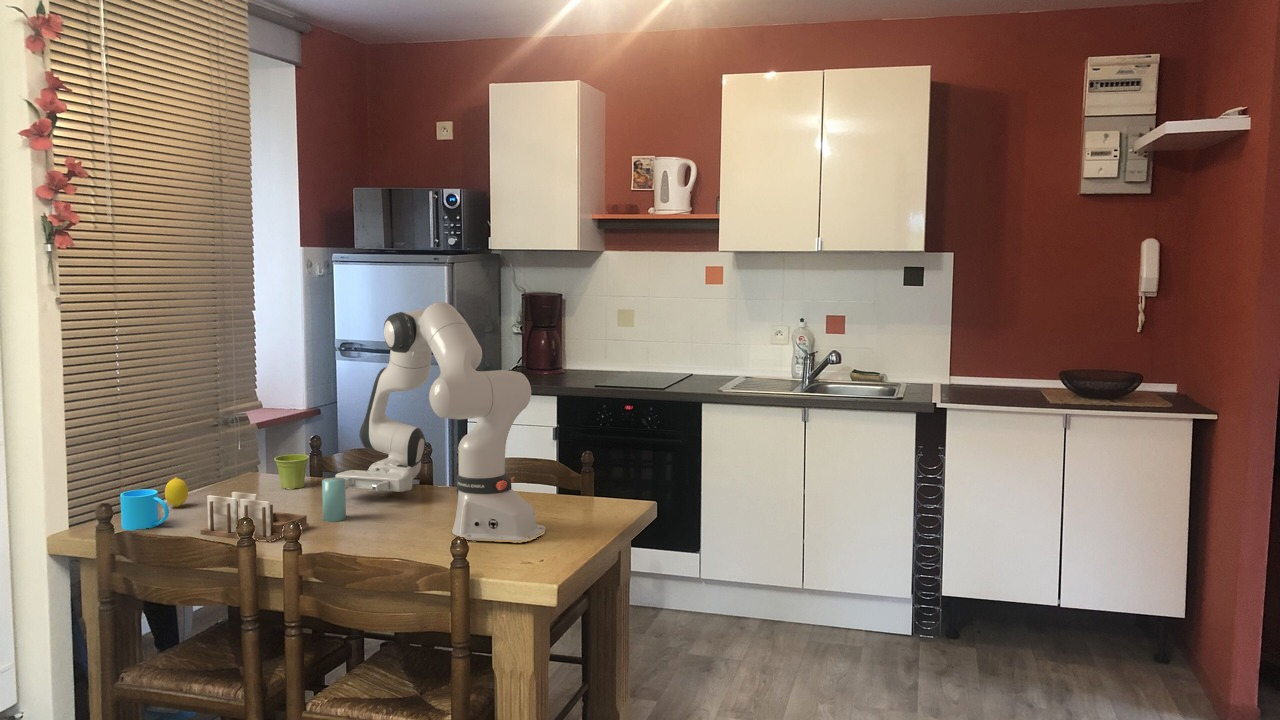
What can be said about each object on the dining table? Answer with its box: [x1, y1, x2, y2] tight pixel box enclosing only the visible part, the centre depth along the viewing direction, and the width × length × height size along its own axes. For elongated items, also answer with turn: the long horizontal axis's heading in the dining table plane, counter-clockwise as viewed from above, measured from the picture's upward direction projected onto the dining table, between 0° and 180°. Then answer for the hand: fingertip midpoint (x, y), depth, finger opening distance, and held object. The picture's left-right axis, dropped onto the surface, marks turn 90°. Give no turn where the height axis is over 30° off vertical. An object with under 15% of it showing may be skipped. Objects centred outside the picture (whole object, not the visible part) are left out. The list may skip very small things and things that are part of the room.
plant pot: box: [274, 454, 310, 490], centre depth 287 cm, size 9×9×9 cm
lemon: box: [164, 476, 189, 508], centre depth 263 cm, size 6×6×8 cm
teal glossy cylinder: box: [321, 477, 347, 523], centre depth 253 cm, size 6×6×10 cm
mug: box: [120, 488, 170, 531], centre depth 245 cm, size 12×8×8 cm
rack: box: [199, 491, 310, 541], centre depth 242 cm, size 20×14×9 cm
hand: (358, 487), depth 265 cm, fingers open, 8 cm apart
